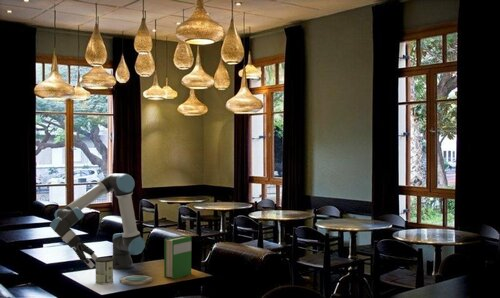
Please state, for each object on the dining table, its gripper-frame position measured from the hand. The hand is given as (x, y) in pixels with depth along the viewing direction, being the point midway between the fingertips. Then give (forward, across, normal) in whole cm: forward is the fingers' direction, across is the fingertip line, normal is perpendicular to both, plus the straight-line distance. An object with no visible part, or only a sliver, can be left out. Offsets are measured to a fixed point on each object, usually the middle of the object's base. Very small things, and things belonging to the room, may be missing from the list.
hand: (96, 264), depth 333 cm
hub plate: (+24, -4, +9) cm, 26 cm away
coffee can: (+11, -1, -4) cm, 12 cm away
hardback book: (+40, -20, +25) cm, 51 cm away
